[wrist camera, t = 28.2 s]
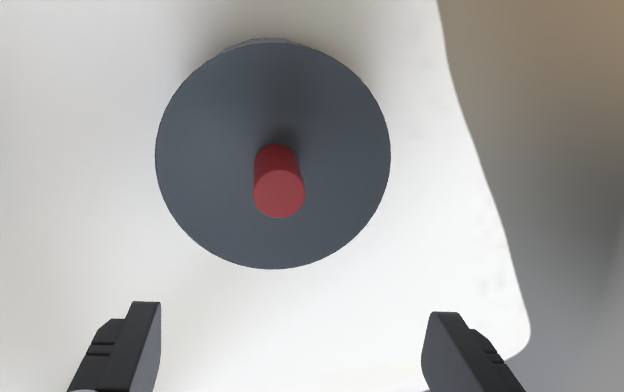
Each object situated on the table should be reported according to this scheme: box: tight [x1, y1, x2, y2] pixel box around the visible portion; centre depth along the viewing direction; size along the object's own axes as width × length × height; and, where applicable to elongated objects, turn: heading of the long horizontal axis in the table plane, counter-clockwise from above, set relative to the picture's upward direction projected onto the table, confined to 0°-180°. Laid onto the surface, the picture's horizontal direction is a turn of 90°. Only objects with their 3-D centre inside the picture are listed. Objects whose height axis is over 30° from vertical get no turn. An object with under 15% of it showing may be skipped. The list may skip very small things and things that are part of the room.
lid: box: [155, 42, 391, 269], centre depth 30 cm, size 15×15×7 cm
